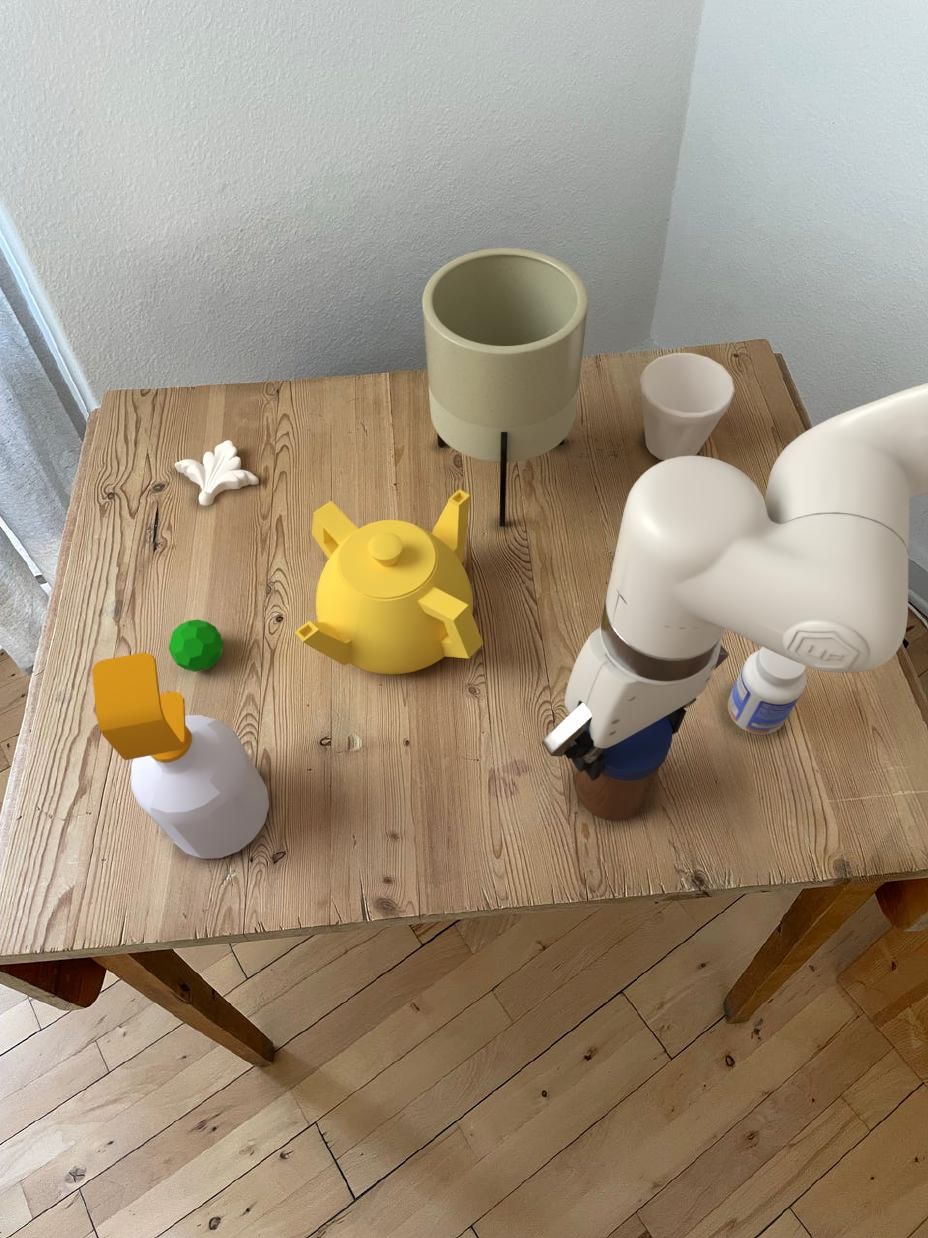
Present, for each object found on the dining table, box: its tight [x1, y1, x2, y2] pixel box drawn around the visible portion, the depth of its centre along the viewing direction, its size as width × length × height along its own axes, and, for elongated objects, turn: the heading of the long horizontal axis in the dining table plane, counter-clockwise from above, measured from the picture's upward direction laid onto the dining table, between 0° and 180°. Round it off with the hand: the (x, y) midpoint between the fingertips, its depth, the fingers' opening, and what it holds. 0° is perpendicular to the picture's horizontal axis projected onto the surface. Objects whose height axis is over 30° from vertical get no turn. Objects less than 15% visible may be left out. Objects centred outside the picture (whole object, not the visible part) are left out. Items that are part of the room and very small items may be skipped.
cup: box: [638, 352, 736, 462], centre depth 97 cm, size 10×10×9 cm
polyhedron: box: [168, 619, 224, 673], centre depth 84 cm, size 5×5×5 cm
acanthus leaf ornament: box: [174, 440, 260, 507], centre depth 99 cm, size 8×7×2 cm
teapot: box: [293, 488, 484, 675], centre depth 84 cm, size 17×17×12 cm
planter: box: [421, 247, 589, 527], centre depth 90 cm, size 15×16×23 cm
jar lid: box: [586, 716, 673, 781], centre depth 69 cm, size 7×7×2 cm
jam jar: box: [574, 768, 660, 822], centre depth 74 cm, size 7×7×11 cm
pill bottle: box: [727, 646, 808, 736], centre depth 78 cm, size 5×5×10 cm
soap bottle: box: [91, 651, 270, 860], centre depth 67 cm, size 9×9×25 cm
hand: (624, 741), depth 70 cm, fingers closed on jar lid, 7 cm apart
